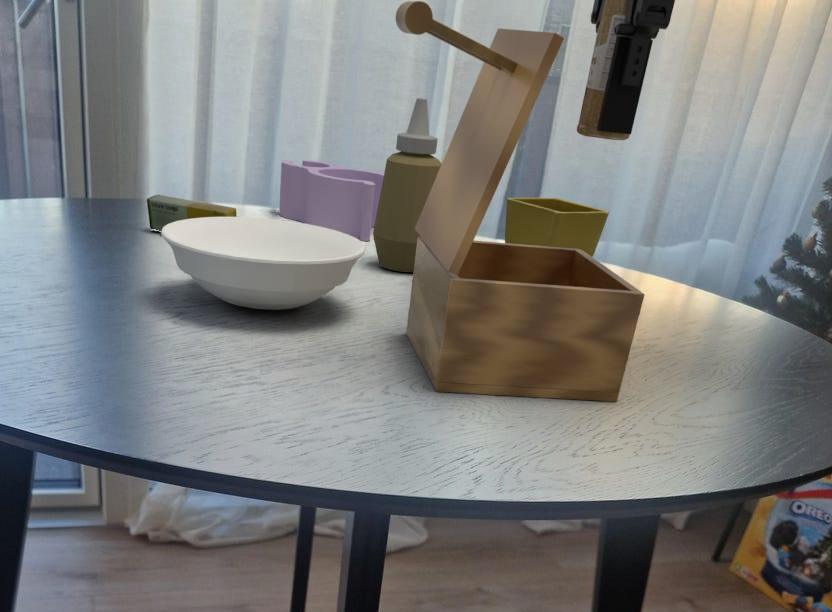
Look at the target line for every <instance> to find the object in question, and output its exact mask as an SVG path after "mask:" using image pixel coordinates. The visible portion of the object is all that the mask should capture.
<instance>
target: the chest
mask: <svg viewBox="0 0 832 612" xmlns="http://www.w3.org/2000/svg"><path fill="white" fill-rule="evenodd" d="M412 273H413V274H412V281H411V282H412V283H411V290H410V298H409V306H408V313H407V320H406V321H407V323H406V329H405V334H406V335H407V337H408V340H409V342H410V344H411V346H412V347H413V349H414V351H415V354H416V355H417V357H418V359H419V361H420V363H421V365H422V367H423V369H424V371H425V373H426V375H427V376H428V378H429V381H430V383H431V385H432V387H433V388H434V390H435V392H437V393H439V392H440V393H452V394H453V393H454V394H471V395H472V394H473V395H487V396H488V395H492V396H507V397H523V398H524V397H526V398H542V399H543V398H546V399H562V400H563V399H564V400H579V401H596V402H597V401H598V402H612V403H613V402H615V403H617V402H618V398H619V395H620V391H621V387H622V383H623V379H624V376H625V372H626V368H627V364H628V360H629V357H630V352H631V348H632V345H633V341H634V337H635V333H636V330H637V325H638V322H639V319H640V318H639V317H640V314H641V309H642V306H643V302H644V299H645V293H644V292H642V290H639V288H636V286H634V285H632V284H631V283H630V282H628V281H627V280H626V279H624V278H623V277H621V276H620V275H618V274H617V273H616V272H614V271H612V270H611V269H610V268H609V267H607V266H606V265H604V264H603V263H602V262H600V261H599V260H597V259H596V258H594V256H593V257H591V256H590V255H588V254H587V253H586V252H584V251H583V250H581V249H573V248H560V247H548V246H535V245H523V244H510V243H505V242H496V241H483V240H473V242H472V245H471V247H470V249H469V251H468V253H467V256H466V258H465V260H464V262H463V265H462V267H461V269H460V271H459V274H458V275H455V274H453V273H451V272H449V271H448V270H447V269H446V267H445V266H444V265H443V264H442V262H441V261H440V260H439V259H438V257H437V256H436V255H435V254H434V252H433V251H432V250H431V249H430V247H429V246H428V245H427V244H426V242H425V241H424V240H423V239H422V237H421V236H418V240H417V248H416V256H415V264H414V272H412Z"/></svg>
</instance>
